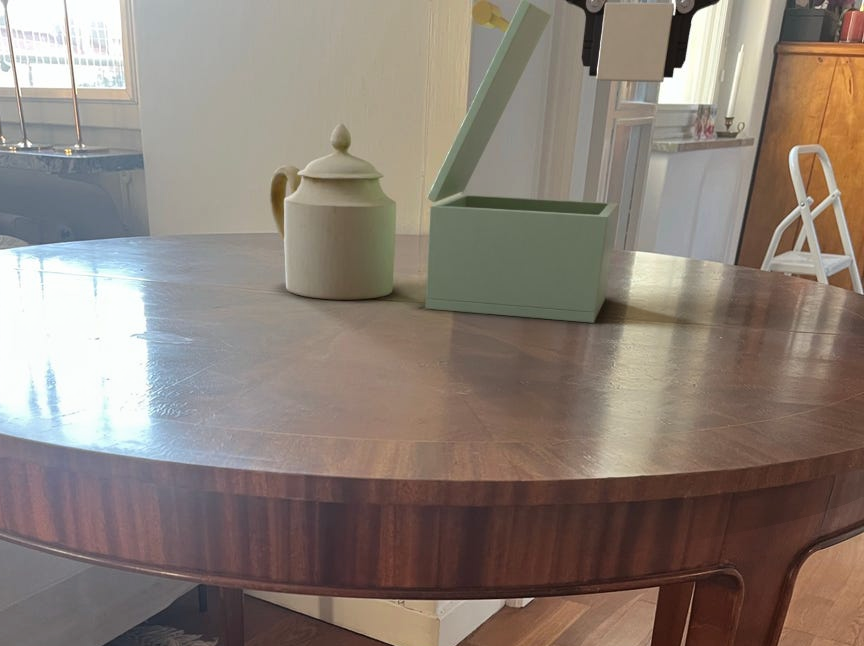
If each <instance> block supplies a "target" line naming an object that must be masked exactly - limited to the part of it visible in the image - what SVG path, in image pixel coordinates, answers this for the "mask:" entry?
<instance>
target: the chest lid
mask: <svg viewBox="0 0 864 646" xmlns="http://www.w3.org/2000/svg"><path fill="white" fill-rule="evenodd" d="M470 14H471V15H470V16H471V19H472V21H473V22H474V23H475V24H476V25H478V26H481V27H484V28H487V29H489V30H490V29H491V30H492V29H499V30H500V31H502V32H503V33H505V34H504V36H503V38H502V40H501V43H500V44H499V46H498V48H497V50H496V52H495V54H494V56H493V58H492V61H491V63H490V65H489V67H488V68H487V72H486V73H485V76H484V77H483V79H482V82H481V84H480V86H479V88H478V90H477V92H476V94H475V97H474V99H473V101H472V102H471V105H470V107H469V109H468V111H467V113H466V115H465V117H464V119H463V122H462V124H461V126H460V128H459V129H458V132H457V134H456V136H455V138H454V141H453V142H452V144H451V147H450V149H449V151H448V153H447V155H446V157H445V159H444V161H443V163H442V166H441V167H440V170H439V172H438V173H437V176H436V178H435V180H434V182H433V184H432V186H431V188H430V191H429V192H428V195H427V196H426V198H427V199H428V200H429V201H430V202H432V203H436V202H437V203H438V202H440V201H443V200H446V199H447V198H451V197H452V196H455V195H458V194H460V193H462V192H464V191H465V190H466V188H467V186H468V184H469V182H470V179H471V177H472V176H473V173H474V172H475V170H476V168H477V165H478V163H479V162H480V160H481V158H482V156H483V154H484V152H485V150H486V147H487V146H488V144H489V141H490V139H491V137H492V135H493V134H494V131H495V129H496V127H497V125H498V124H499V121H500V119H501V117H502V115H503V113H504V111H505V109H506V107H507V105H508V104H509V102H510V99H511V97H512V95H513V93H514V91H515V90H516V87H517V85H518V84H519V81H520V79H521V77H522V75H523V73H524V71H525V70H526V67H527V65H528V63H529V61H530V59H531V57H532V55H533V53H534V51H535V49H536V47H537V45H538V43H539V41H540V40H541V37H542V35H543V33H544V31H545V29H546V27H547V25H548V23H549V22H550V19H551V17H552V15H551V14H550V13H549V12H547V11H546V10H543V9H542V8H540V7H538V6H536V5H535V4H533V3H532V2H530V1H528V0H520V2H519V4H518V6H517V8H516V10H515V13H514V14H513V17H512V19H511V21H508V19H506V18H504V17H503V11H502V9H501V8H500V7H499V6H498V5H497V4H495V3H492V2H490V1H488V0H477V1H476V2H475V3H474V4H473V6H472V8H471V13H470Z"/></svg>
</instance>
